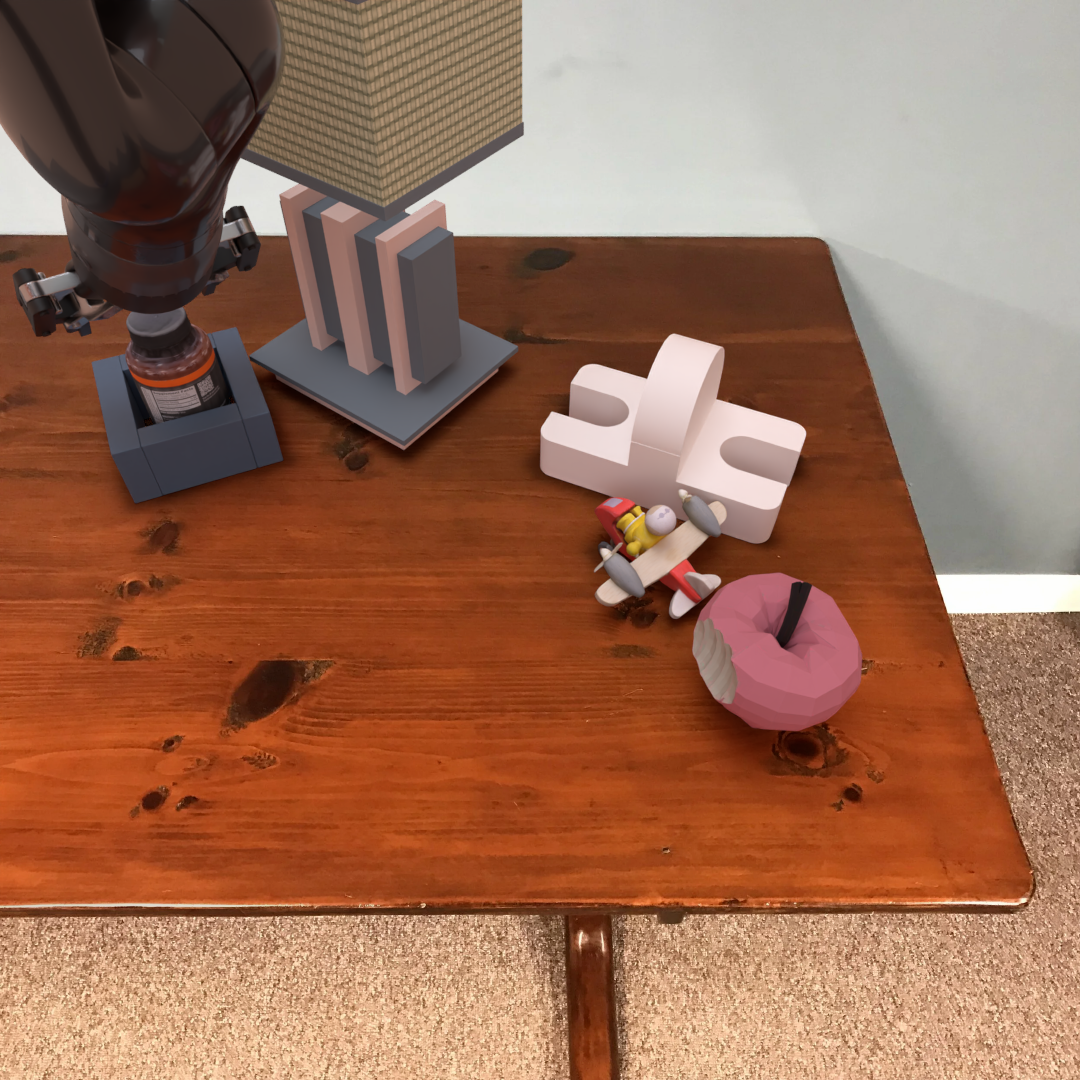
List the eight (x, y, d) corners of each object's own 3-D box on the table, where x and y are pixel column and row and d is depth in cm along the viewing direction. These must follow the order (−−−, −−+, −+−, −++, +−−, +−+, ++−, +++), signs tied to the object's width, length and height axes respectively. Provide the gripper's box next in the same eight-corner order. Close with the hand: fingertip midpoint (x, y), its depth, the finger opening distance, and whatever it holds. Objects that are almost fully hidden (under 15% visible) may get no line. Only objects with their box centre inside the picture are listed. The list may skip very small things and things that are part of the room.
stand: (135, 504, 65) (110, 454, 62) (114, 411, 72) (91, 361, 68) (283, 460, 68) (269, 411, 65) (251, 375, 75) (236, 326, 71)
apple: (667, 649, 58) (689, 551, 50) (792, 626, 59) (832, 528, 52) (716, 785, 52) (749, 698, 44) (855, 757, 53) (910, 667, 46)
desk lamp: (525, 374, 75) (526, -82, 50) (415, 469, 68) (351, -10, 43) (366, 296, 82) (296, -139, 57) (249, 376, 75) (111, -85, 50)
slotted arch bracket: (583, 395, 74) (590, 282, 66) (798, 460, 69) (835, 348, 61) (534, 471, 68) (536, 357, 60) (765, 547, 64) (801, 436, 55)
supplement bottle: (174, 409, 72) (127, 288, 63) (248, 411, 72) (210, 291, 63) (151, 462, 68) (97, 341, 60) (229, 464, 68) (187, 343, 59)
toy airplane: (592, 524, 65) (598, 461, 60) (718, 532, 64) (734, 469, 60) (588, 628, 59) (594, 567, 54) (726, 637, 59) (745, 577, 54)
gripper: (241, 120, 49) (216, 219, 64) (-36, 191, 44) (7, 281, 59) (300, 251, 50) (262, 318, 65) (38, 336, 45) (61, 388, 60)
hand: (141, 300), depth 62 cm, fingers open, 8 cm apart
